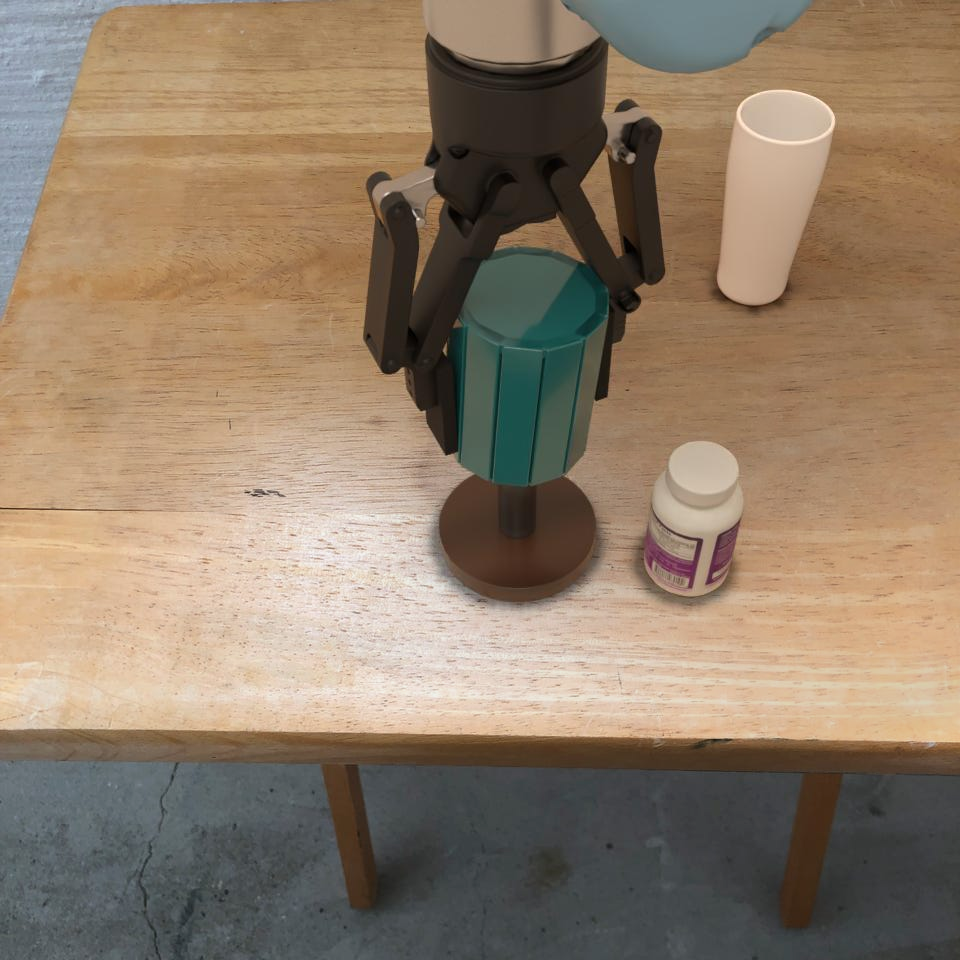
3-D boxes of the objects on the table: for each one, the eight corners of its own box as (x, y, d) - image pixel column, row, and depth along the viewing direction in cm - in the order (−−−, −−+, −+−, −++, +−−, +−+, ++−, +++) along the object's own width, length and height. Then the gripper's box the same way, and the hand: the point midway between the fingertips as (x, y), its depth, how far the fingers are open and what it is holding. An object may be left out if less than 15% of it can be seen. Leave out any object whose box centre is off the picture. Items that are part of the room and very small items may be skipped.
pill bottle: (707, 522, 71) (729, 421, 64) (741, 587, 68) (769, 489, 61) (629, 541, 71) (642, 442, 63) (660, 608, 67) (677, 512, 60)
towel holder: (623, 566, 69) (652, 332, 54) (479, 625, 67) (466, 398, 52) (551, 458, 75) (559, 219, 60) (416, 509, 73) (388, 273, 57)
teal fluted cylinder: (610, 462, 61) (638, 325, 54) (480, 503, 59) (489, 366, 51) (547, 370, 66) (564, 232, 59) (424, 404, 64) (425, 266, 56)
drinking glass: (794, 262, 88) (836, 91, 76) (794, 319, 83) (838, 147, 72) (708, 254, 89) (736, 84, 77) (704, 310, 84) (733, 139, 73)
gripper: (694, -68, 49) (649, 312, 67) (235, 48, 44) (316, 427, 62) (792, 6, 45) (716, 393, 62) (295, 144, 40) (364, 523, 57)
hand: (517, 409), depth 62 cm, fingers closed on teal fluted cylinder, 9 cm apart
